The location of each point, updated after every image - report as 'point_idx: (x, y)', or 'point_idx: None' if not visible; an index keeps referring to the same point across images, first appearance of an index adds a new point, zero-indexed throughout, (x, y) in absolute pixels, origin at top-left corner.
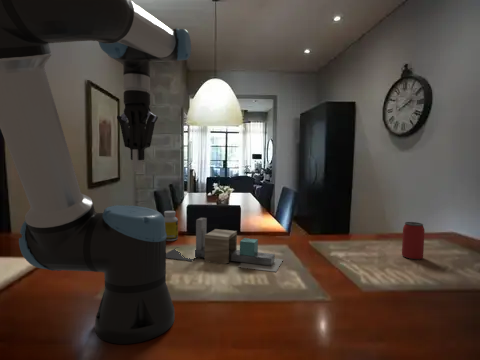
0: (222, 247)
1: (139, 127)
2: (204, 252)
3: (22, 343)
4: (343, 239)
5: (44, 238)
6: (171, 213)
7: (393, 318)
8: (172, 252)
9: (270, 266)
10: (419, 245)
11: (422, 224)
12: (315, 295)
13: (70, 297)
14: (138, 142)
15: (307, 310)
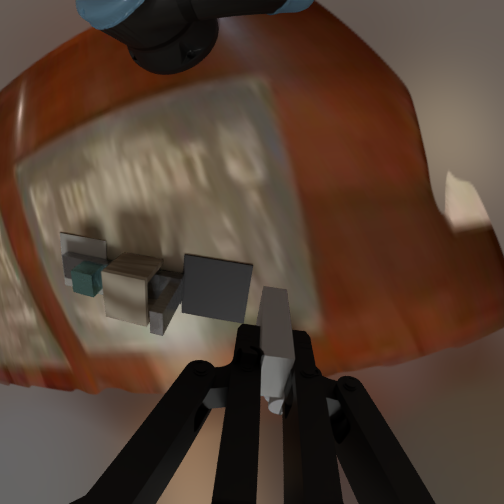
0: (120, 264)
1: (222, 493)
2: (163, 275)
3: None
4: (44, 371)
5: None
6: (273, 399)
7: None
8: (238, 293)
9: (69, 251)
10: None
11: None
12: (22, 172)
13: (303, 71)
14: (246, 391)
15: (27, 133)
